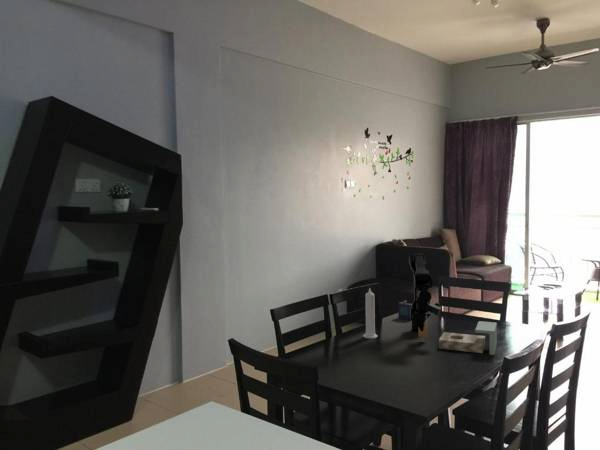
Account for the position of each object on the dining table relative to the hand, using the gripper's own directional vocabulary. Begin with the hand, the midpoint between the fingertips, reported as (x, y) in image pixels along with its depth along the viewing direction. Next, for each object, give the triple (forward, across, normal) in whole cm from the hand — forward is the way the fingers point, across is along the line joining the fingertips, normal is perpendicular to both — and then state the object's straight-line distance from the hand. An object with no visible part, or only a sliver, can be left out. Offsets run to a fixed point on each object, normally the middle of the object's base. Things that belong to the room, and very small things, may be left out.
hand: (422, 330), depth 241 cm
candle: (+6, -1, +26) cm, 27 cm away
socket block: (+6, -1, -19) cm, 19 cm away
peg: (+3, 0, 0) cm, 3 cm away
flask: (+6, +41, +18) cm, 45 cm away
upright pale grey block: (+6, -1, -29) cm, 30 cm away
